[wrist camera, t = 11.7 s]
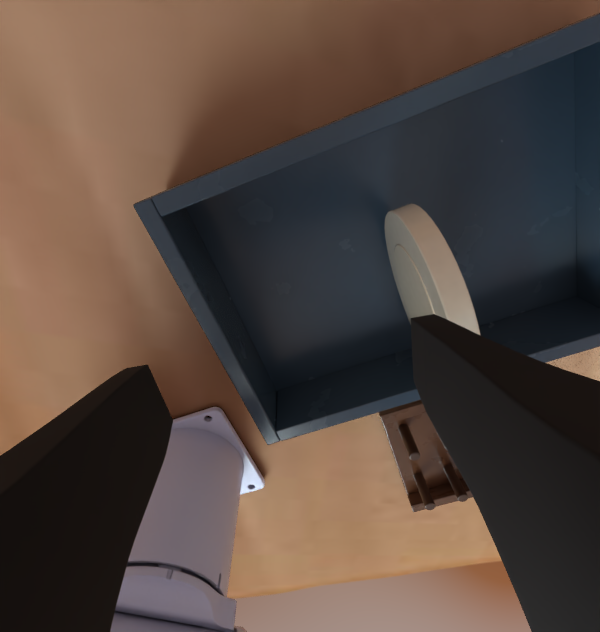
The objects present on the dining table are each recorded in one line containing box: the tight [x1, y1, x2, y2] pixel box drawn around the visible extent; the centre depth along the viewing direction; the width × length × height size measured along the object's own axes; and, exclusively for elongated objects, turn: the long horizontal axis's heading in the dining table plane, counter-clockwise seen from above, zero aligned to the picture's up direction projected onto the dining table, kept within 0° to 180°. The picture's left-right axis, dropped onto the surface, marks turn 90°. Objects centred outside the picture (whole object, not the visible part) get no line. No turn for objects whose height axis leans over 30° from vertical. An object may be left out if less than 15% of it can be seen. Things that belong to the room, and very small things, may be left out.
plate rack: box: [379, 400, 473, 512], centre depth 24 cm, size 9×10×3 cm
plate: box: [385, 203, 480, 335], centre depth 15 cm, size 1×8×8 cm, turn 21°
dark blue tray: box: [134, 13, 600, 445], centre depth 17 cm, size 20×14×4 cm
